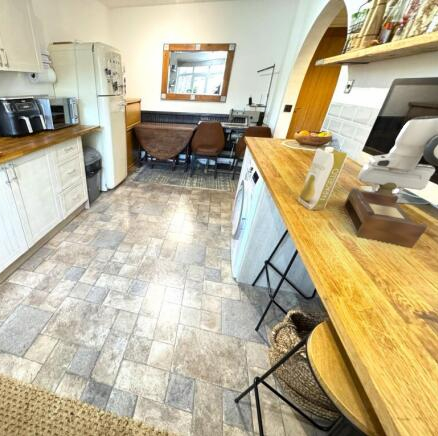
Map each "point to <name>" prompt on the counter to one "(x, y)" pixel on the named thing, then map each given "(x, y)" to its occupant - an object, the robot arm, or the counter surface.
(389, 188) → the pepper mill
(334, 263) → the counter surface
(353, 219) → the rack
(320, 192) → the juice carton
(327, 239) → the counter surface
